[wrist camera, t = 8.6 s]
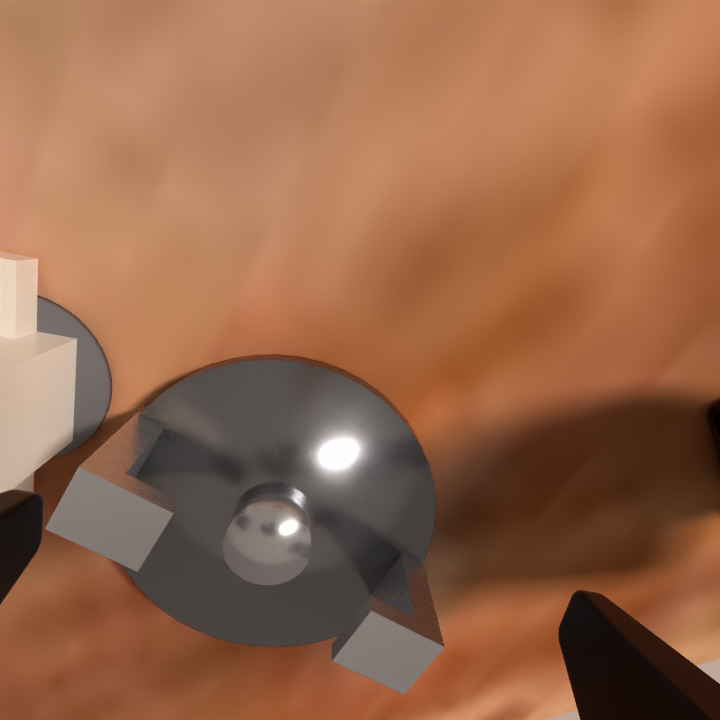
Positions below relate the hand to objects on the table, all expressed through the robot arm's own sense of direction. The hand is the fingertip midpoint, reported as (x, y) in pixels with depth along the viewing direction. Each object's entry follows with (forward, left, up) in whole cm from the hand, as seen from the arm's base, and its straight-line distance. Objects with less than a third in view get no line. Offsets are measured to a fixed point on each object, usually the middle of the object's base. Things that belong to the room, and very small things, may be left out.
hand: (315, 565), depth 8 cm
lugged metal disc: (+5, +5, -12) cm, 14 cm away
